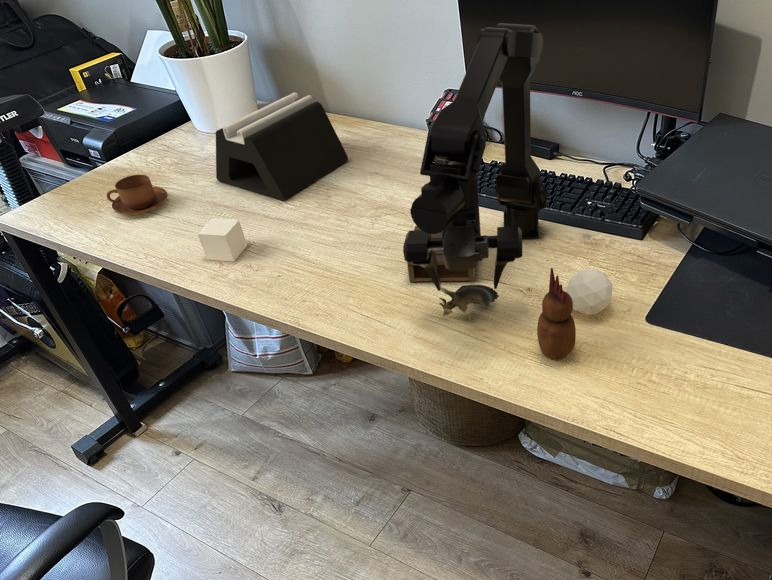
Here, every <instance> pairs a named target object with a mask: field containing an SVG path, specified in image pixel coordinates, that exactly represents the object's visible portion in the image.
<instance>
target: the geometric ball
mask: <svg viewBox="0 0 772 580" xmlns="http://www.w3.org/2000/svg"><path fill="white" fill-rule="evenodd" d="M565 292H567V293H568V294H569V295H570V296H571V298H572V302H573V311H575V312H579V313H581V314H583V315H597V314H598V313H600V312H602V311H603V310H604V309H606V308H607V307H608V306H609V304H610V302H611V300H612V297H613V283H612V281H611V280H610V278H609V277H608V276H607V274H606V273H605V272H603V271H601V270H599V269H595V268H581V269H580V270H578V271H577V272H575V273H574V274H572V275H571V276H570V278H569V280H568V283H567V284H566V287H565Z"/></svg>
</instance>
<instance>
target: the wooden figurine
mask: <svg viewBox="0 0 772 580" xmlns="http://www.w3.org/2000/svg"><path fill="white" fill-rule="evenodd" d="M541 311H542V312H541V313H540V314H539V316H538V320H537V325H536V327H537V328H536V333H537V341H538V346H539V349H540V351H541V353H542V354H543V355H544V356H545V357H546V358H548V359H550V360H554V361H559V360H562V359H566V358H567V357H568V356H569V355H570V354H571V353H572V351H573V349H574V348H575V344H576V339H577V337H576V335H577V331H576V329H577V328H576V323H575V319H574V317H573V315H572V314H573V311H574V309H573V302H572V298H571V296H570V295H569V294H568V293H567V292H566V290H563V285H562V284H560V279H559V275H556V276H555V273H554V268H553V267H550V272H549V284H548V292H547V293H546V294H544V295H543V298H542V303H541Z"/></svg>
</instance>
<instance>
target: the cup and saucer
mask: <svg viewBox="0 0 772 580" xmlns="http://www.w3.org/2000/svg"><path fill="white" fill-rule="evenodd" d="M111 194H118V196H117V197H116V198H115V199H113V198H111ZM106 198H107V200H108V201H109V202H110V203H111V208H112V210H113V211H114V212H116V213H118V214H120V215H124V216H125V215H126V216H138V215H142V214H146V213H149V212H153V211H154V210H156V209H158V208H159V207H161V206H162V205H163V204H164V203H165V201H166V200H167V198H168V192H167V189H164V188H162V187H159V186H153V184H152V182H151V179H150V177H149V176H148V175H146V174H132V175H128V176H125V177H123V178H122V179H121V178H120V179H119V180H117V182H115V185H114V189H110V190H109V191H107V193H106Z"/></svg>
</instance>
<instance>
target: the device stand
mask: <svg viewBox="0 0 772 580" xmlns="http://www.w3.org/2000/svg"><path fill="white" fill-rule="evenodd" d="M298 98H299V94H298V93H297V92H291V93H290V94H287V95H286V96H284V97H281V98H280V99H278V100H275V101H274V102H271V103H270V104H267V105H266V106H263V107H261V108H259V109H257V110H255V111H253V112H251V113H249V114H247V115H245V116H243V117H241V118H239V119H237V120H235V121H233V122H231V123H228V124H226V125H225V126H222V128H220V129H217V130H215V177H216V180H217V181H218V182H219V183H222V184H224V185H228V186H231V187H234V188H238V189H242V190H244V191H248V192H251V193H255V194H258V195H261V196H265V197H268V198H272V199H274V200H277V201H281V202H283V201H286V200H287V199H288V198H290V197H292V196H293V195H295V194H296V193H299V192H300V191H302V190H303V189H304V188H305V189H306V187H308V186H309V185H311V184H313V183H314V182H316V181H317V180H319V179H320V178H322V177H324V176H326V175H327V174H329V173H330V172H332V171H333V170H335V169H336V168H339V167H341V165H343V164H344V163H347V161H349V156H348V154H347V152H346V150H345V149H344V145H343V144H342V141H341V140H340V138H339V136H338V134H337V132H336V130H335V128H334V126H333V124H332V122H331V119H329V116H328V115H327V113H326V111H325V108H324V107H323V105H322V104H321V102H319V101H313V100H314V99H313V97H312V95H310V94H307V95H305V96H304V97H301V98H300V99H298ZM296 99H298V100H296Z"/></svg>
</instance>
